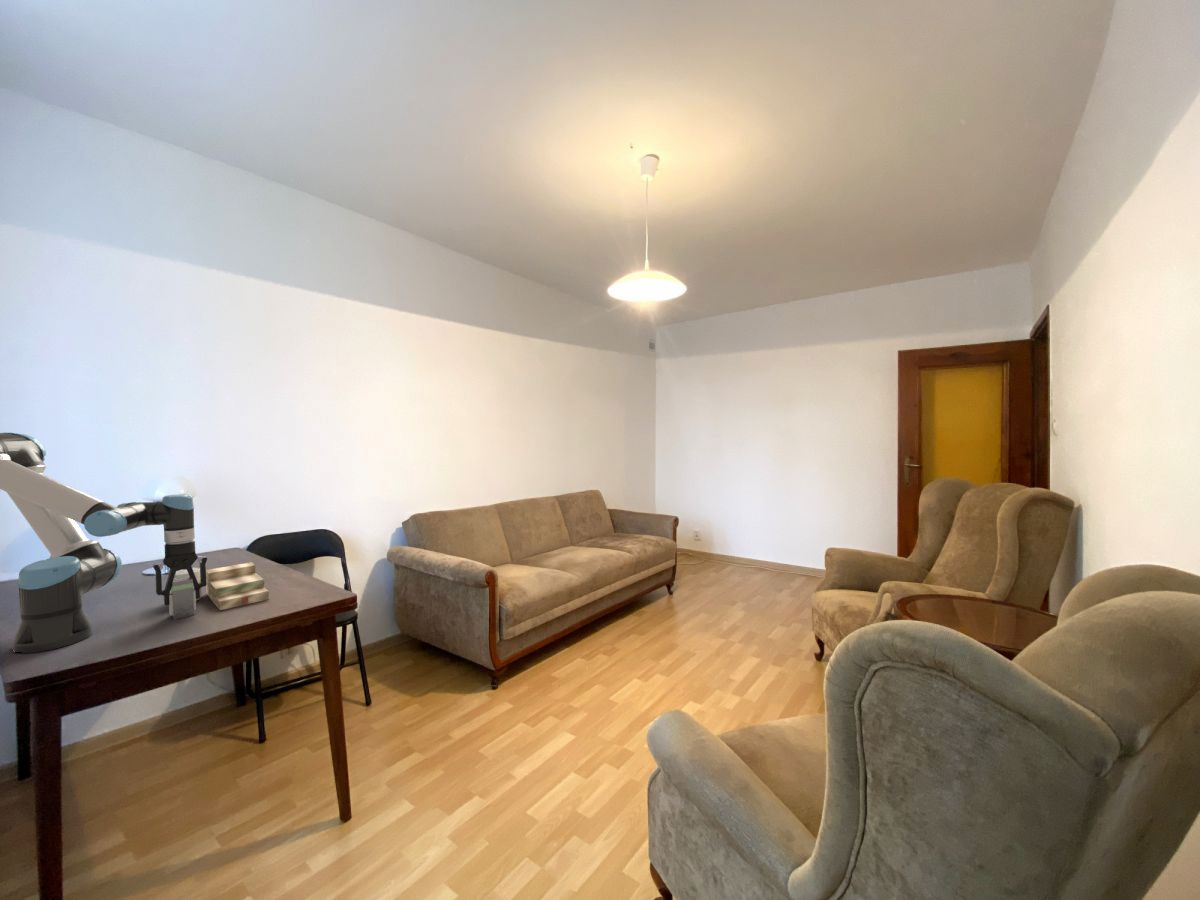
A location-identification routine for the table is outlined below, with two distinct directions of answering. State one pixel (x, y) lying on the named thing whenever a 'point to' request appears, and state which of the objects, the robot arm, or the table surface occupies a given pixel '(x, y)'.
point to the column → (182, 597)
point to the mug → (184, 574)
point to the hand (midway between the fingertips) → (182, 611)
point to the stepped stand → (235, 586)
